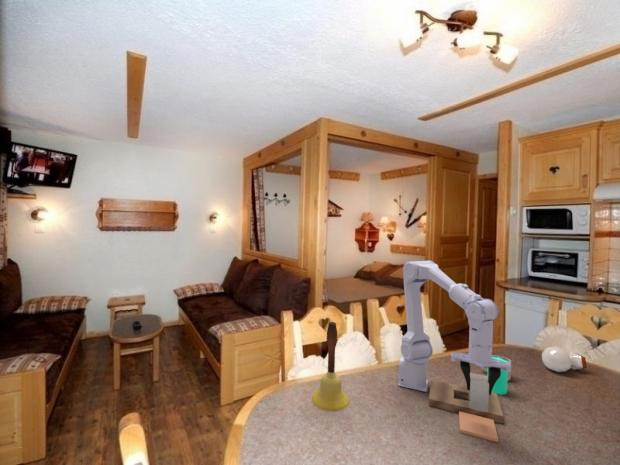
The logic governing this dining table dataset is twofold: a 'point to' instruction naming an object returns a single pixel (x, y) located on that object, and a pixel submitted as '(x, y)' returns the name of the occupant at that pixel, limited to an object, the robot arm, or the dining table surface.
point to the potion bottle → (562, 359)
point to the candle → (501, 381)
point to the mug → (503, 359)
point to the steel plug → (478, 392)
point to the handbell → (331, 379)
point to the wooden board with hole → (461, 401)
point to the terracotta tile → (477, 426)
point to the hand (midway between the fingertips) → (478, 390)
